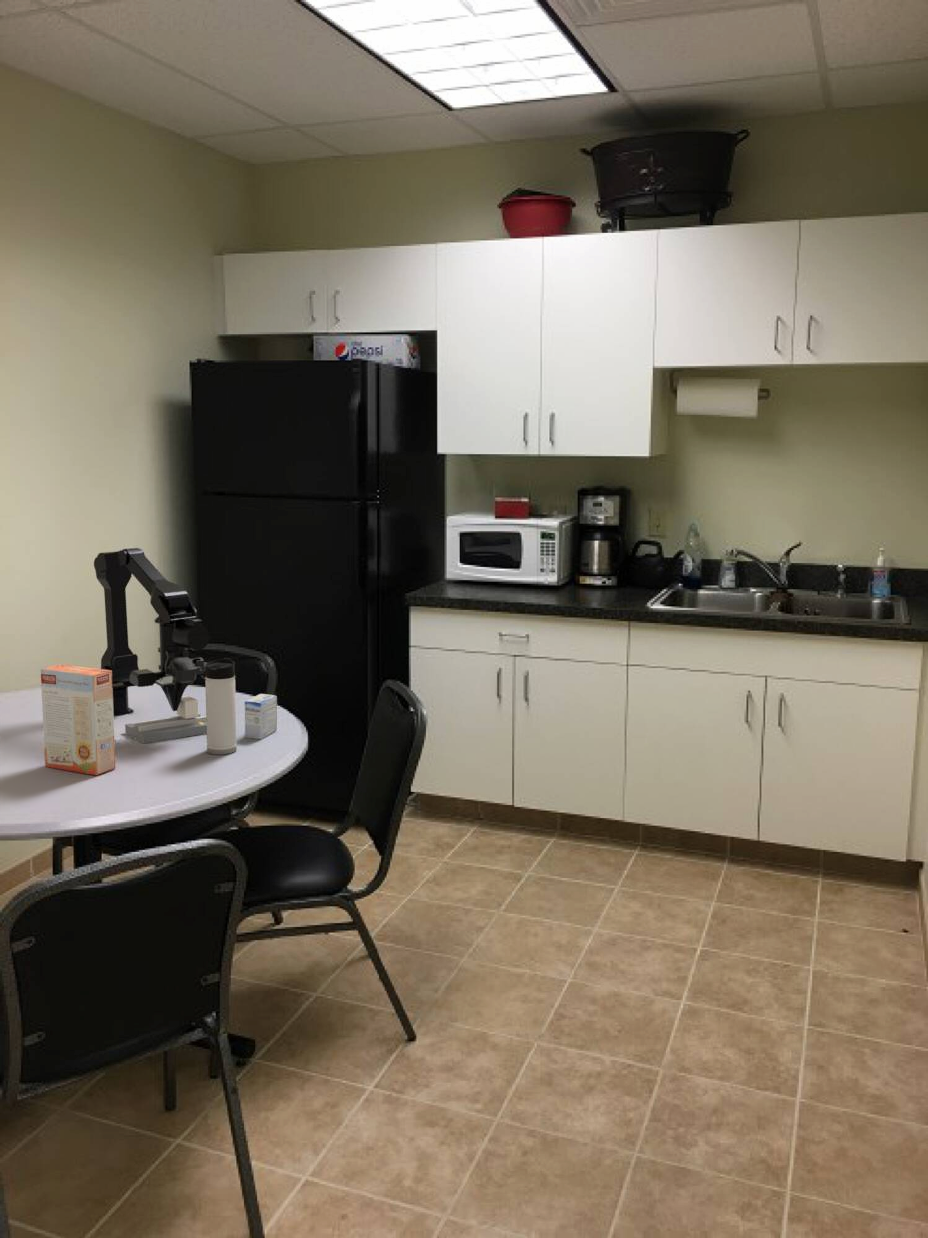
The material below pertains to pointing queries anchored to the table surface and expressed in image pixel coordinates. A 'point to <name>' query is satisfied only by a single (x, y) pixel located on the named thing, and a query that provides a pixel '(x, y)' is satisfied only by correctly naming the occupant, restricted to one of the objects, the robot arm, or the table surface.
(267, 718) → the medicine box
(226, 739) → the travel mug
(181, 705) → the fader
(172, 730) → the console
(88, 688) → the cracker box
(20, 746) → the table surface
